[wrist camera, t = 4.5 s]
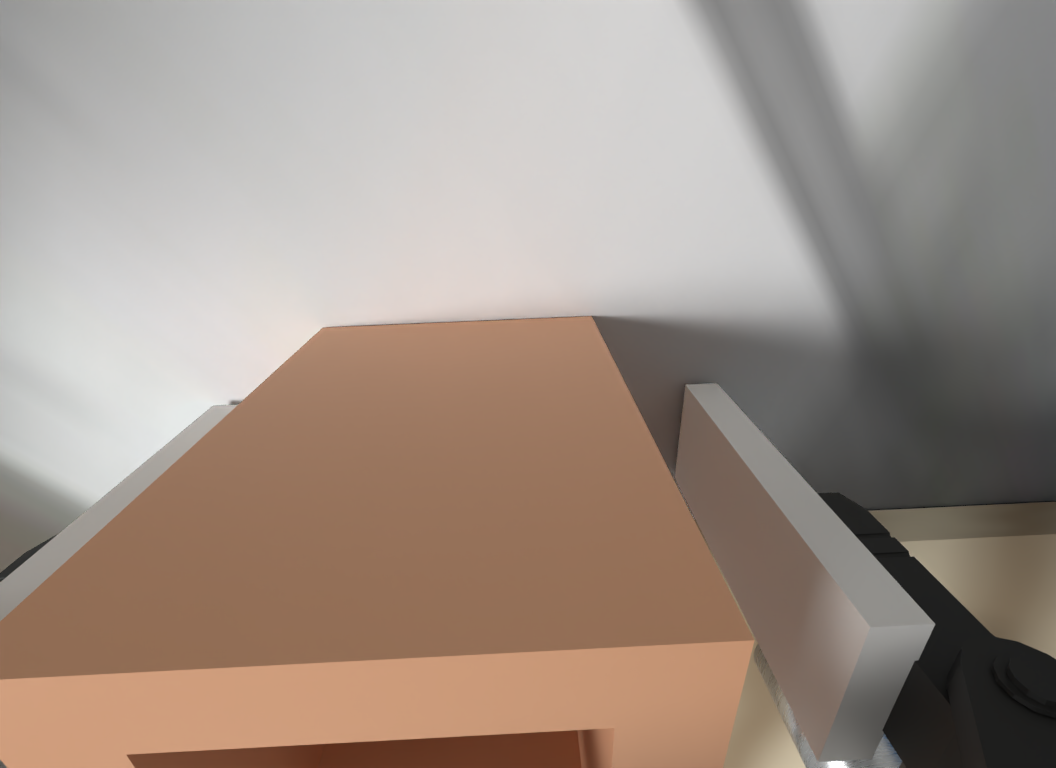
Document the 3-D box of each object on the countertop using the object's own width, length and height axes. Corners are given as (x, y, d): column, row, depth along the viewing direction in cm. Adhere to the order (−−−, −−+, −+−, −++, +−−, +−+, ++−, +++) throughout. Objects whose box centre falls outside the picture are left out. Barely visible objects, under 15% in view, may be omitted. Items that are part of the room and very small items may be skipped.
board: (653, 804, 20) (661, 841, 19) (694, 518, 13) (710, 550, 12) (1035, 782, 20) (1065, 818, 19) (1256, 492, 14) (1320, 521, 13)
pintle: (747, 678, 15) (859, 925, 10) (761, 623, 14) (894, 870, 9) (826, 673, 15) (975, 918, 10) (845, 618, 14) (1023, 863, 9)
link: (582, 702, 17) (636, 1115, 10) (410, 712, 17) (333, 1135, 9) (591, 316, 11) (754, 640, 4) (322, 327, 11) (-69, 684, 3)
